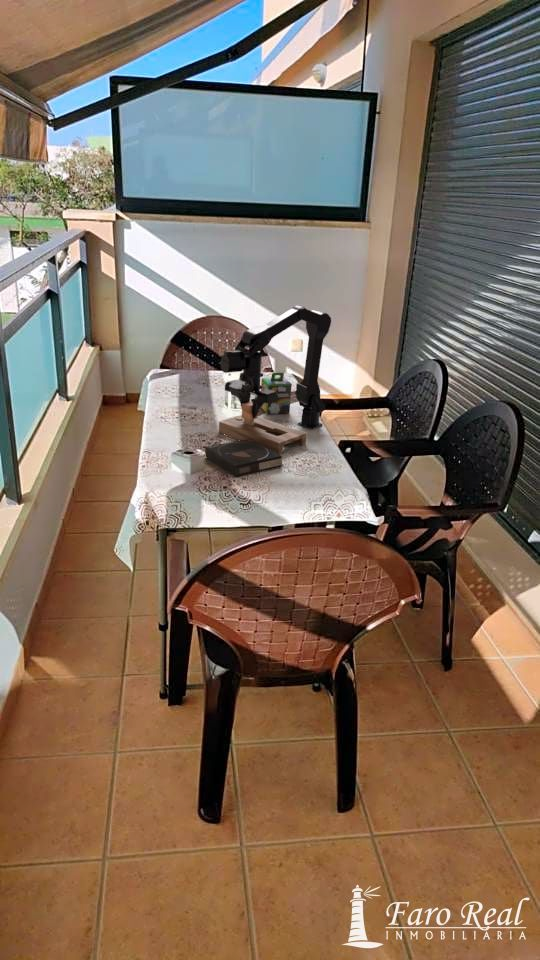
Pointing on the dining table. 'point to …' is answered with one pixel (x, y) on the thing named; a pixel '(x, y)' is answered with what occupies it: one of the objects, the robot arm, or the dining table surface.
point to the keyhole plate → (262, 432)
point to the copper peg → (248, 413)
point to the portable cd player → (243, 457)
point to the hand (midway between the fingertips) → (249, 416)
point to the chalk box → (282, 390)
